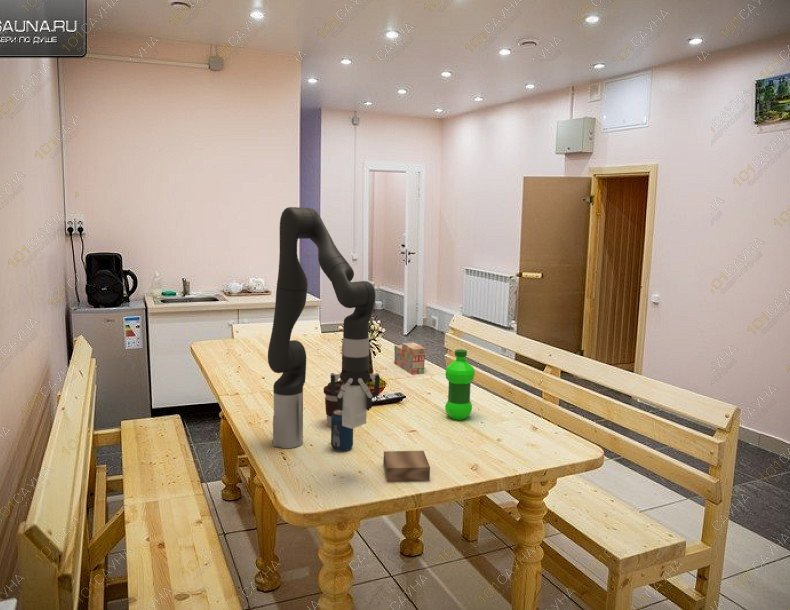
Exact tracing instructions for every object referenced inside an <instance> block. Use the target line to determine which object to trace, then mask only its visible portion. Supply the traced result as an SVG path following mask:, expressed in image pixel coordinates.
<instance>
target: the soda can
mask: <svg viewBox="0 0 790 610" xmlns="http://www.w3.org/2000/svg"><path fill="white" fill-rule="evenodd" d="M353 445H354V429H351V428H348V427H345V426H342V411H340V409H337V410H334V411H333V415H332V417H331V427H330V446H331V448H332V449H333V451H336V452H341V453H342V452H348V451H351V449H352V447H353Z"/></svg>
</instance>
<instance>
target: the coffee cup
mask: <svg viewBox="0 0 790 610" xmlns="http://www.w3.org/2000/svg"><path fill="white" fill-rule="evenodd" d="M342 385H343V381H342V380H338V381H337V382H335V391H339V390H340V388H341V386H342ZM323 394H324V395H325V397H324V402H325V403H324V405H325V414H326V422H327V423H326V424H327V426H328V427H330V428H331V417H332V415H333V411H334V410H337V409H338V408H337V397H336V396H332V395H331V381H329V382H328V383H327V385H326V386H324V387H323Z"/></svg>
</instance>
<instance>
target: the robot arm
mask: <svg viewBox="0 0 790 610" xmlns="http://www.w3.org/2000/svg"><path fill="white" fill-rule="evenodd" d="M279 220H280V221H279V254H278V255H279V256H278V257H279V261H278V270H277V271H278V273H277V283H276V290H275V306H274V315H273V324H272V328H271V329H272V330H271V334H270V340H269V344H268V350H267V364H268V366H269V368H270V370H271V371H272V372H274V373H276V374H281V376H280V377H279V378H278V379H277V380H276V381H274V383H273V389H272V391H273V415H272V442H273V443H272V447H278V448H281V449H292V448H297V447H301V446H302V444H304V385H305V383H306V372H307V352H306V348H305V346H304V345H303V344H302V342H300V341H299V340H298V339H297V340H296V339H295V340H294V339H293V340H292V339H291V336H292V332H293V329H294V327H295V325H296V324H297V321H298V319H299V318H300V316H301V314H302V313H303V310H304V308H305V306H306V304H307V296H308V279H307V276H306V274H305V270H304V269H303V267H302V265H301V262H300V260H299V257H298V241H299V239H300V240H301V239H304V240H305V239H309V240H310V241H312V242H313V243H314V244H315V246H316V247H317V252H318V253H317V257H318V258H317V259H318V264H319V266H320V268H321V270H322V271H323V273H324V274H325V276H326V277H327V278H328V280H329V281H330V282H331V285H332V288H333V290H334V293H335V296H336V299H337V301H338V303H339V304H340V305H341V306H342V307H344V308H345V309H354V310H353V312H352V313H351V314H349V315H347V316H346V317H344V319H343V328H342V329H343V331H342V335H343V336H342V343H341V344H342V345H341V372H340V373H336V374H335V373H334V372H331V373H330V382H331V395H332V396H336V397H337V408H338V409H340V411H342V396H343V394H344V392H346V388H345V387H346V386H350V385H361V387H362V388H363V390H364V391H365V393H366V394H367V412H368V411H370V410H371V409H372V408H373V401H372V400H373V397H378V396H379V395H380V380H381V377H380V374H379V373H378V372H376V373H370V365H369V364H370V341H369V339H370V338H369V335H370V334H369V333H370V332H369V329H370V327H369V326H370V325H369V324H370V320H371V317H372V314H373V310H374V306H375V302H376V295H377V294H376V290H375V287H374V285H373V284H372V283H371V282H370V281H367V280H361V281H360V280H359V281H352V280H353V279H354V276H355V271H354V269H353V267H352V266H351V265H350V264H349V262H348V261H347V259H346V258H345V257H344V256H343V255H342V253H341V252H340V251H339V249H338V247H337V246H336V245H335V241H333V239H332V237H331V235H330V232H329V230H328V229H327V227H326V225H325V222H324V221H323V220H322V218H321V215H320V214H319V213H318V212H317V211H316V210H315V209H314V208H310V207H297V206H296V207H295V206H288V207H286V208H284V210H283V211H282V212H281V215H280V219H279ZM339 379H340V381H343V385H344V386H343V387H342V386H341V388H340V390H339V391H335V382H337V381H339ZM370 379H371V381H372V382H373V383H374V384H373V385H374V386H373V388H374V389H373V390H372V391H371V389H370V388H369V385H367V386H366V384H368V381H369V380H370Z"/></svg>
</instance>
